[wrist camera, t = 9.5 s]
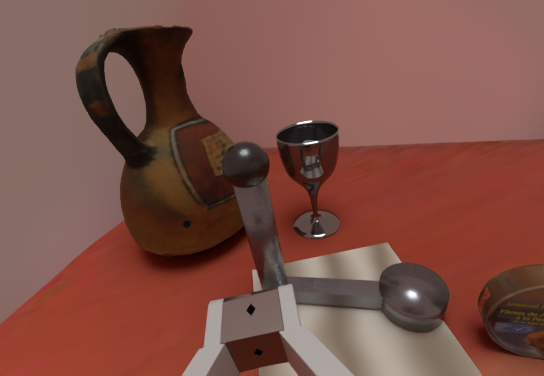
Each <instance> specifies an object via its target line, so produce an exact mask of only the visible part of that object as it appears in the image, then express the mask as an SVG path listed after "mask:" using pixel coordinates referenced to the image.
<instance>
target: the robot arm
mask: <svg viewBox="0 0 544 376" xmlns="http://www.w3.org/2000/svg"><path fill="white" fill-rule="evenodd" d="M287 362H289V364H290V365H291V367H292V368H293V369H294V371H295V372H296V373H297V375H298V376H354V375H353V374H352V373H351V372H350V371H349V370H348V369H347V368H346V367H345V366H344V365H343V364H342V363H341V362H340V361H339V360H338V359H337V358H336V357H335V356H334V355H333V354H332V353H331V352H330V351H329V350H328V349H327V348H326V347H325V345H324V344H323V343H322V342H321V341H320V340H319V339H318V338H317V337H316V336H315V335H314V334H313V333H312V332H311V331H310V330H309V329H308V328H307V327H306V326H301V321H300V316H299V312H298V308H297V303H296V299H295V295H294V290H293V286H292V284H288V285H283V286H279V287H278V286H277V287H273V288H269V289H264V290H260V291H256V292H252V293H250V294H244V295H239V296H234V297H229V298H223V299H219V300H214V301H210V303H209V305H208V312H207V321H206V330H205V339H204V348H201V349H199V350H198V352H197V353H196V355H195V356H194V358H193V359H192V361H191V362H190V364H189V365H188V367H187V368H186V370H185V371H184V373H183V374H182V376H240V372H244V371H249V370H253V369H257V368H261V367H265V366H270V365H276V364H281V363H287Z"/></svg>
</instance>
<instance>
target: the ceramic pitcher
mask: <svg viewBox="0 0 544 376" xmlns="http://www.w3.org/2000/svg"><path fill="white" fill-rule="evenodd" d="M191 35H192V29H191V28H189V27H180V26H172V27H163V26H160V25H155V26H142V27H134V28H119V29H114V30H108V31H106V33H105V34H104V35H100V37H99V39H98V40H97V41H95V42H94V43H93V44H92V45H91V46H90V47H88V48H87V50H86V51H85V52H84V53H83V55H82V56H81V58H80V60H79V62H78V64H77V67H76V83H77V88H78V92H79V95H80V98H81V100H82V102H83V105H84V107H85V109H86V110H87V112H88V114H89V116H90V117H91V119H92V120H93V121H94V123H95V124H96V125H97V126H98V127H99V129H100V130H101V131H102V133H103V134H104V135H105V136H106V137H107V138H108V139H109V140H110V142H111V143H112V144H113V145H114V146H115V148H116V149H117V150H118V151H119V152H120V153H121V155H122V156H123V157H124V158H125V165H124V168H123V172H122V177H121V184H120V199H121V207H122V211H123V216H124V219H125V223H126V225H127V227H128V229H129V231H130V233H131V235H132V237H133V238H134V240H135V241H136V243H137V244H138V245H139V246H140V247H141V248H142V249H144V250H146V251H148V252H152V253H156V254H158V255H162V256H167V257H169V256H177V255H189V254H193V253H197V252H201V251H203V250H206V249H209V248H212V247H214V246H215V245H217V244H219V243H221V242H222V241H224V240H226V239H227V238H229V237H230V236H232V235H233V234H234V233H236V232H237V231H238V230H240V229H241V228H242V227H243V226H244V223H243V220H242V216H241V213H240V209H239V206H238V202H237V198H236V195H235V191H234V188H233V185H232V184H231V183H229V182H228V181H227V179H226V178H225V176H224V174H223V170H222V159H223V156H224V154H225V152H226V151H227V150H228V149H229V148H230V147H231V146H232V145H234V143H233V142H232V140H231V139H230V138H229V137H228V136H227V135H226V134H225V133H224V132H223V131H222V130H221V129H220V128H218V127H217V126H216V125H215V124H213V123H212V122H210V121H208V120H206V119H204V118H202V117H201V116H200V115H199V114H198V113H197V111H196V110H195V108H194V106H193V104H192V103H191V101H190V99H189V96H188V94H187V89H186V82H185V77H184V72H183V68H182V64H181V58H182V53H183V50H184V47H185V44H186V43H187V41H188V40H189V38H190V36H191ZM109 52H115V53H118V54H120V55H121V56H123V57H124V58H125V59H126V60H127V61H128V62H129V64H130V65H131V67H132V68H133V69H134V71H135V73H136V75H137V77H138V79H139V81H140V85H141V88H142V90H143V94H144V98H145V102H146V124H145V128H144V130H143V131H142V132H141V133H140V134H139V136H138V137H136V136H135V135H134V134H133V133H132V132H131V131H130V130H129V129H128V128H127V127H126V125H125V124H124V123H123V121H122V120H121V118H120V117H119V115H118V113H117V111H116V109H115V107H114V105H113V103H112V100H111V98H110V95H109V93H108V90H107V86H106V82H105V73H104V61H105V59H106V57H107V55H108V53H109Z"/></svg>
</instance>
